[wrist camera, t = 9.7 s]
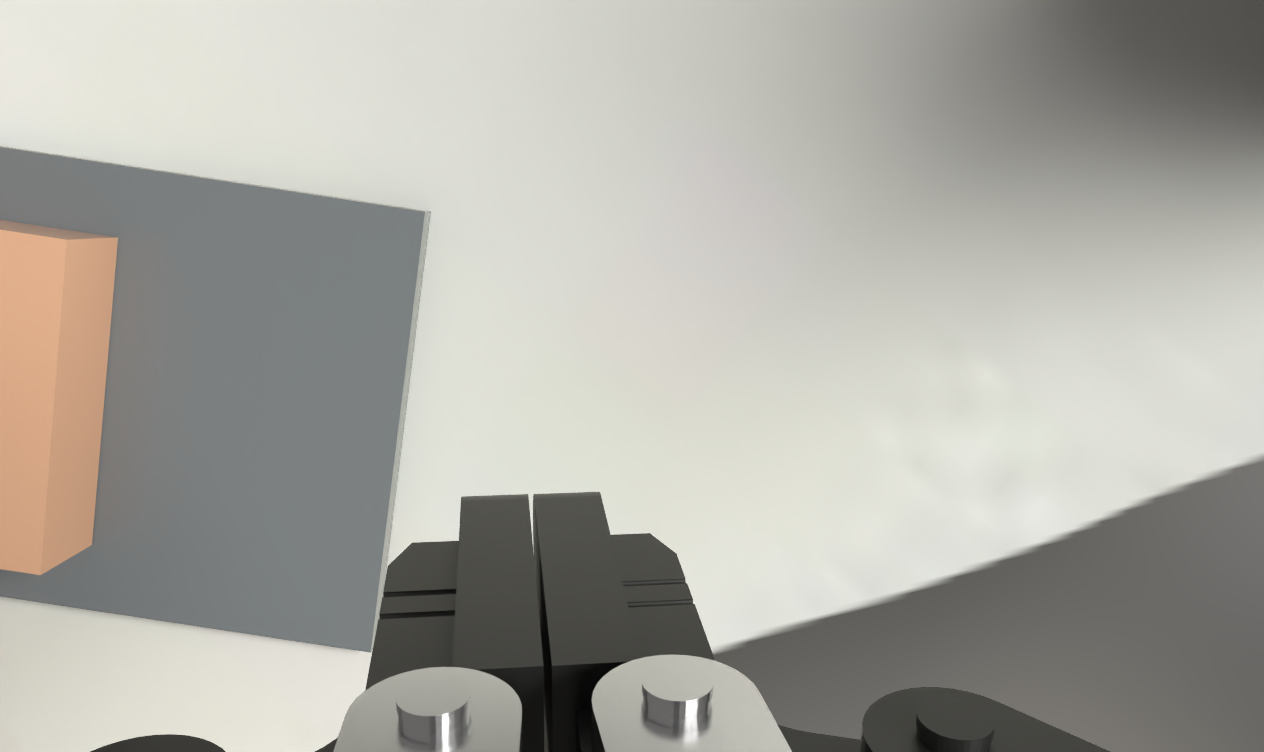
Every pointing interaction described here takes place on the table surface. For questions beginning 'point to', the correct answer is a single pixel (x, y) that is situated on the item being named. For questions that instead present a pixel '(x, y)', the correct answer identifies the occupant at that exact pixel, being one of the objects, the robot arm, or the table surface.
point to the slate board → (238, 398)
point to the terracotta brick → (51, 389)
